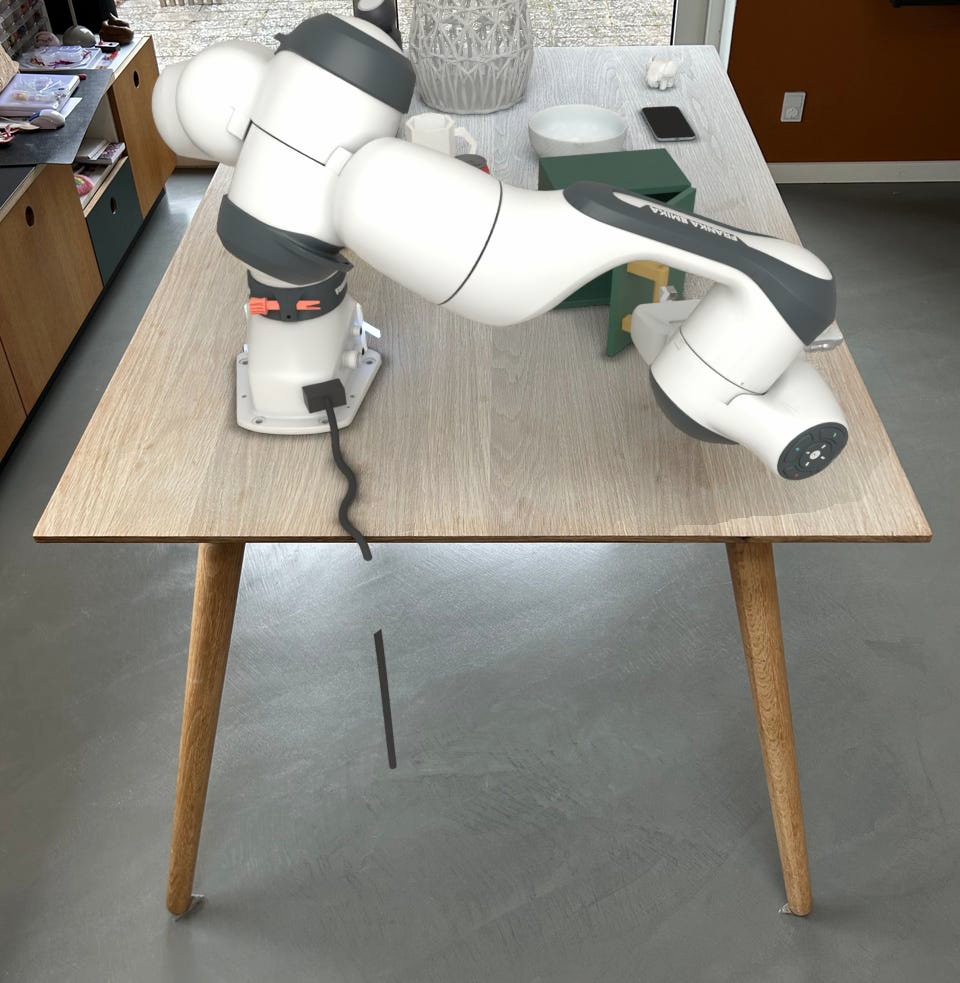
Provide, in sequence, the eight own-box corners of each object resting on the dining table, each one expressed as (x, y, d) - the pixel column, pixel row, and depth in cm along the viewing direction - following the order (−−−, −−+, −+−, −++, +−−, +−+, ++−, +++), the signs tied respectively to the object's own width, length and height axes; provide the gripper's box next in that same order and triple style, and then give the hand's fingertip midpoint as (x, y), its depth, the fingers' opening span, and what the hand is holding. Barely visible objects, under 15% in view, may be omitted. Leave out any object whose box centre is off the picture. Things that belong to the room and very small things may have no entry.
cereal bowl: (514, 173, 180) (515, 133, 176) (543, 137, 192) (544, 99, 188) (610, 187, 176) (613, 146, 171) (634, 149, 188) (637, 110, 183)
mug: (408, 190, 176) (405, 133, 169) (408, 169, 182) (405, 113, 176) (479, 188, 176) (478, 130, 170) (477, 167, 182) (476, 111, 176)
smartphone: (657, 138, 189) (640, 107, 201) (656, 142, 190) (640, 110, 201) (696, 136, 190) (677, 105, 201) (696, 140, 190) (677, 109, 201)
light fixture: (316, -2, 206) (370, -17, 214) (324, 80, 216) (376, 63, 224) (361, 11, 199) (415, -5, 207) (367, 96, 209) (419, 77, 217)
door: (715, 312, 144) (733, 199, 133) (647, 371, 134) (660, 252, 123) (675, 298, 147) (689, 186, 136) (605, 354, 137) (615, 237, 126)
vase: (476, 66, 222) (473, -93, 202) (557, 96, 208) (563, -72, 188) (386, 95, 209) (375, -71, 190) (467, 129, 196) (463, -47, 176)
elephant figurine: (634, 88, 211) (637, 58, 207) (660, 78, 215) (663, 48, 211) (660, 97, 207) (663, 66, 203) (686, 86, 211) (689, 56, 207)
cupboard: (677, 298, 148) (691, 183, 137) (552, 309, 146) (557, 194, 135) (653, 257, 157) (665, 147, 146) (535, 268, 155) (538, 157, 144)
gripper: (857, 319, 103) (802, 253, 113) (656, 339, 101) (619, 270, 111) (843, 372, 107) (792, 304, 118) (650, 393, 105) (615, 321, 115)
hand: (706, 287), depth 114 cm, fingers open, 8 cm apart
